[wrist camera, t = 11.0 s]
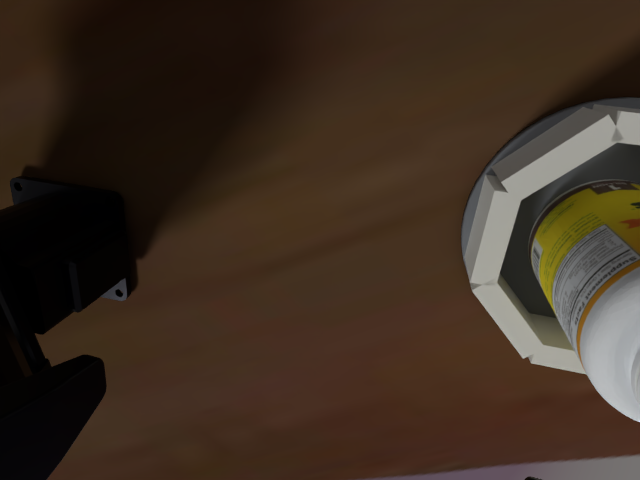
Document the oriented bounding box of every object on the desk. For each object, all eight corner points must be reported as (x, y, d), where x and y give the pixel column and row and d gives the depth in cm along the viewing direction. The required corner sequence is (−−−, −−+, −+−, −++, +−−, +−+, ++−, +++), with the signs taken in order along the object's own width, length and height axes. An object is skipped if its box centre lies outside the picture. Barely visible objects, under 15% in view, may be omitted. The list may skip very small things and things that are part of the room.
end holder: (438, 315, 22) (441, 352, 19) (495, 81, 18) (510, 85, 15) (681, 361, 20) (724, 410, 18) (813, 116, 16) (897, 128, 13)
